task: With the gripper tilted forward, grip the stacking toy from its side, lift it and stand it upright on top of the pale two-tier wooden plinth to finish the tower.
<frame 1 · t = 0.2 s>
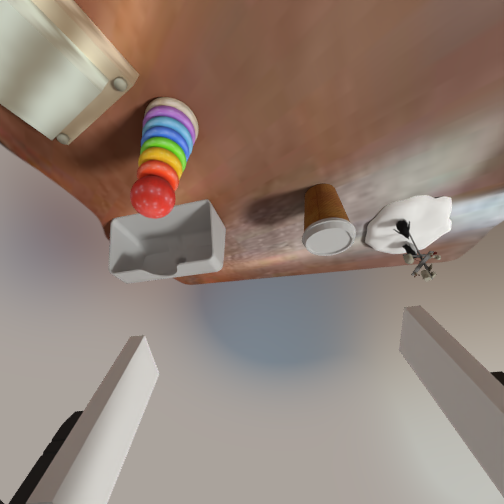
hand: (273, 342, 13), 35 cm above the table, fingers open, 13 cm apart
disposable coffee cup: (320, 194, 52), on the table
tank: (176, 229, 63), on the table
stacking toy: (173, 121, 40), on the table
figurine: (405, 223, 60), on the table
plinth: (44, 52, 32), on the table
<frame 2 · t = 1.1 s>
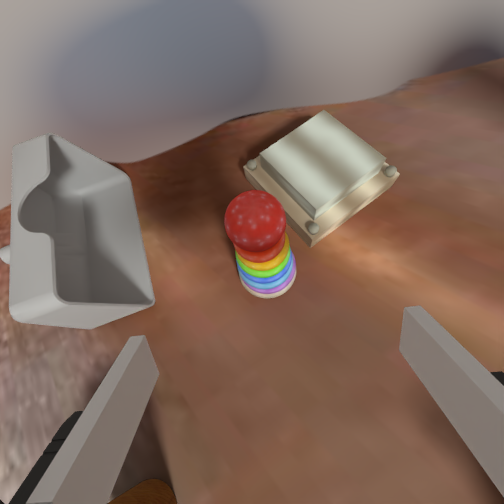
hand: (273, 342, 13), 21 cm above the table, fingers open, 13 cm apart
tank: (96, 251, 41), on the table
stacking toy: (267, 272, 36), on the table
plinth: (315, 182, 40), on the table
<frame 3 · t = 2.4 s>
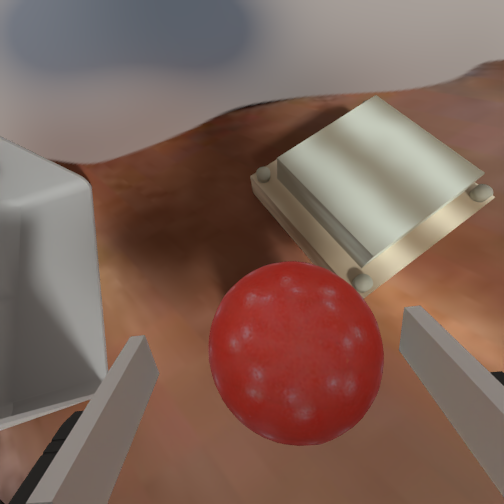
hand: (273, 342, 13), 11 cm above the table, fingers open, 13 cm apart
tank: (30, 293, 28), on the table
stacking toy: (283, 343, 23), on the table
plinth: (355, 202, 28), on the table
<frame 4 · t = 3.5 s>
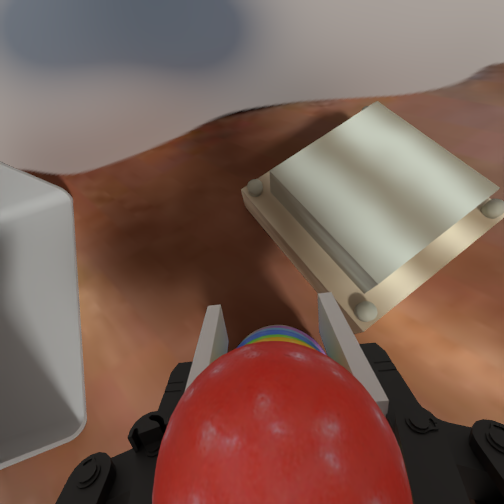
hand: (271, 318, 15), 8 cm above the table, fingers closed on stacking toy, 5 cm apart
tank: (3, 318, 25), on the table
stacking toy: (278, 376, 21), on the table, touching gripper
plinth: (355, 217, 25), on the table
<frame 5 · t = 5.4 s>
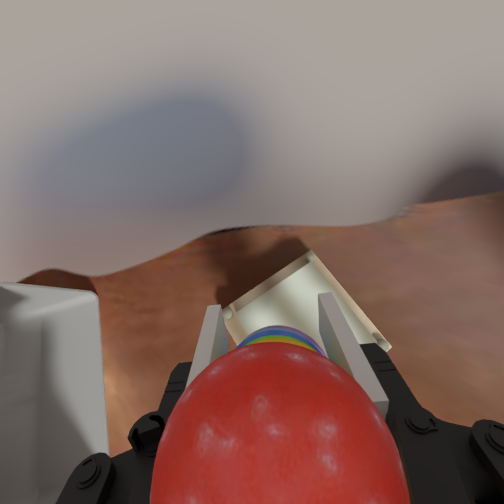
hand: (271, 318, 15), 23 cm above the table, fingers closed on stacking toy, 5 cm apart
tank: (50, 392, 36), on the table
stacking toy: (278, 376, 21), point 15 cm above the table, touching gripper
plinth: (298, 330, 36), on the table
when the fingers open (15 cm above the table, at t = 7.5 s): stacking toy drops 1 cm, resting on plinth.
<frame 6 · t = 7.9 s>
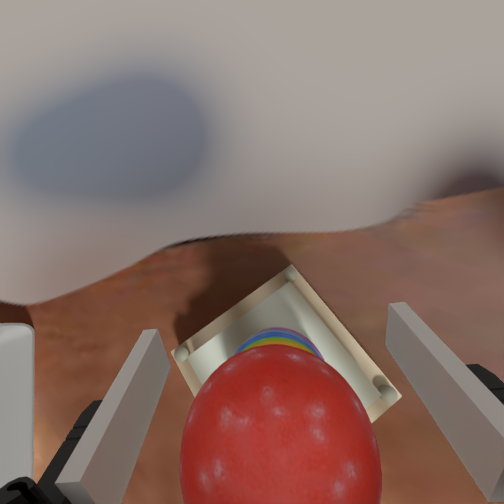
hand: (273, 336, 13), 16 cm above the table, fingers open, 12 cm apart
stacking toy: (277, 375, 22), point 6 cm above the table, touching plinth
plinth: (278, 370, 28), on the table
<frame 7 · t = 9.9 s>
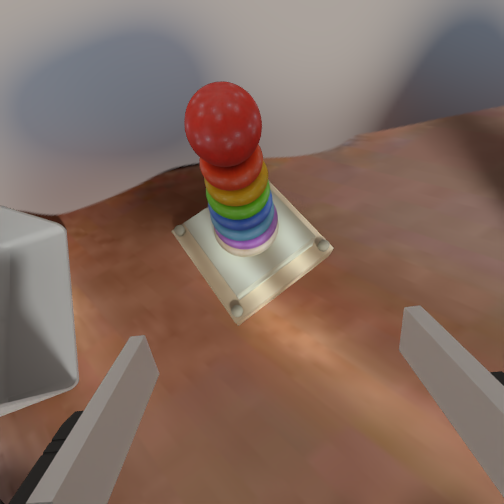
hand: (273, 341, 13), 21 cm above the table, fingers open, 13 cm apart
tank: (19, 316, 37), on the table
stacking toy: (246, 230, 32), point 6 cm above the table, touching plinth
plinth: (251, 247, 38), on the table
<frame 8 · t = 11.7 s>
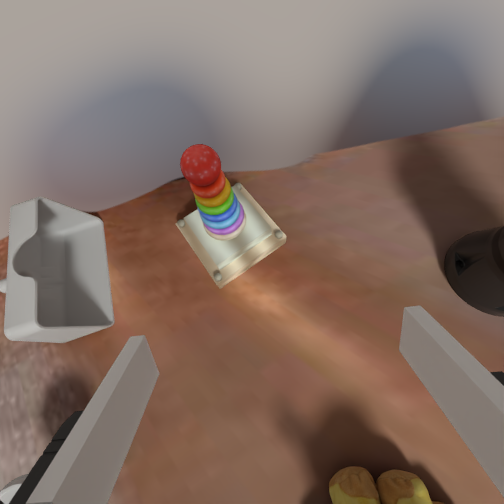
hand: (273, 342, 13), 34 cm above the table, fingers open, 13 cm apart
disposable coffee cup: (85, 481, 40), on the table
tank: (72, 281, 53), on the table
stacking toy: (225, 223, 48), point 6 cm above the table, touching plinth
plinth: (231, 236, 53), on the table
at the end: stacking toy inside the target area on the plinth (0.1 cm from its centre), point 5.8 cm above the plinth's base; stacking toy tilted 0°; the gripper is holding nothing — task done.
